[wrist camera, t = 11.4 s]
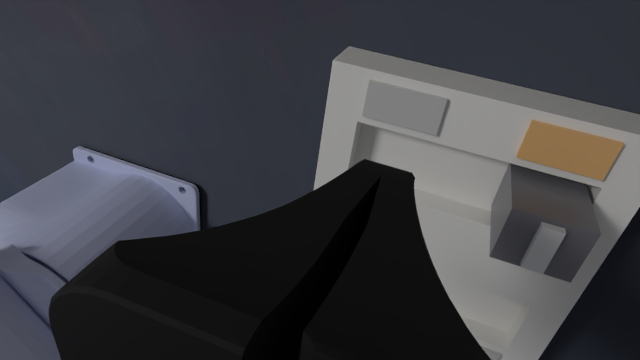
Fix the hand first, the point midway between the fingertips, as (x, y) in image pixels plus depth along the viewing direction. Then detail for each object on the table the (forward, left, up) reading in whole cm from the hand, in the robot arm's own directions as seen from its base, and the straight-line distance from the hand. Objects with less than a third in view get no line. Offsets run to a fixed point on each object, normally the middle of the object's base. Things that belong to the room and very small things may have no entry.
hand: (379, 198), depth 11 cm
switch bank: (+2, -7, -10) cm, 13 cm away
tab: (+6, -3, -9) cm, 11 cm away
